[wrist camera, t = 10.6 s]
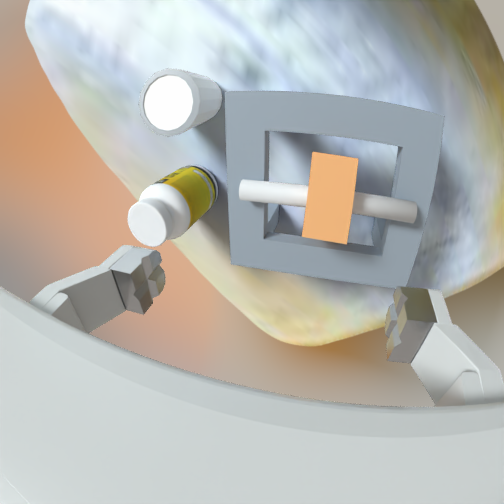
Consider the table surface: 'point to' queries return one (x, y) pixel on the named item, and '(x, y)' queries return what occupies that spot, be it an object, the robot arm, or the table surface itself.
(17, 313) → the robot arm
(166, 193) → the pill bottle
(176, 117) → the shot glass
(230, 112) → the square frame with slider
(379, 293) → the table surface
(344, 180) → the tall tan box
